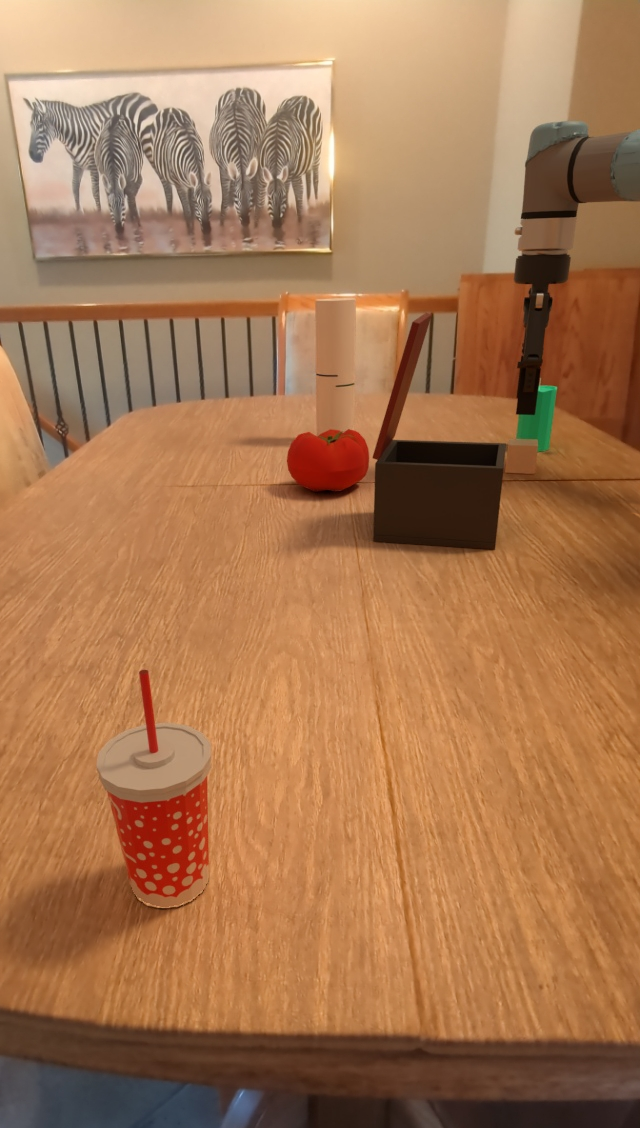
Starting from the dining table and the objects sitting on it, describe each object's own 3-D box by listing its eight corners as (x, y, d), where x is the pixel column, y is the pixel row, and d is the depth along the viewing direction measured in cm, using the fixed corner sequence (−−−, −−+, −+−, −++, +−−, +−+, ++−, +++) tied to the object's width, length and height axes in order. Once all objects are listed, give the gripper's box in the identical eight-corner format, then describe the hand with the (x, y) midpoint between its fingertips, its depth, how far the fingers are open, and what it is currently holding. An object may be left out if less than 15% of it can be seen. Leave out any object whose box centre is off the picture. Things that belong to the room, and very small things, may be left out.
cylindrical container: (319, 438, 148) (318, 298, 137) (356, 438, 147) (358, 297, 135) (313, 446, 142) (312, 301, 131) (351, 447, 141) (353, 300, 129)
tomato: (299, 503, 110) (298, 444, 106) (281, 481, 121) (280, 427, 117) (382, 496, 112) (384, 437, 108) (357, 475, 123) (358, 421, 119)
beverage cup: (133, 841, 47) (102, 642, 41) (230, 845, 47) (214, 644, 40) (104, 917, 42) (63, 702, 36) (213, 923, 41) (191, 705, 35)
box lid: (432, 314, 93) (425, 312, 93) (419, 323, 82) (412, 321, 82) (394, 437, 101) (388, 435, 101) (378, 460, 90) (372, 458, 90)
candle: (509, 449, 135) (517, 379, 130) (521, 442, 140) (529, 374, 134) (543, 453, 132) (552, 381, 127) (554, 446, 136) (563, 376, 131)
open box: (498, 517, 102) (506, 443, 97) (495, 549, 91) (503, 468, 86) (388, 511, 105) (391, 439, 101) (373, 541, 95) (375, 463, 90)
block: (534, 467, 124) (537, 439, 122) (534, 474, 120) (537, 445, 118) (505, 465, 125) (508, 438, 123) (505, 472, 121) (508, 444, 119)
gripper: (517, 252, 120) (502, 391, 129) (515, 255, 98) (498, 421, 108) (567, 251, 118) (548, 392, 127) (577, 253, 96) (553, 423, 106)
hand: (525, 406), depth 118 cm, fingers open, 13 cm apart
